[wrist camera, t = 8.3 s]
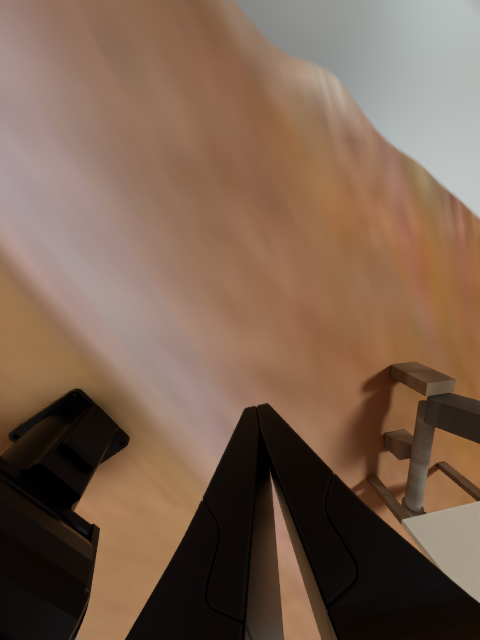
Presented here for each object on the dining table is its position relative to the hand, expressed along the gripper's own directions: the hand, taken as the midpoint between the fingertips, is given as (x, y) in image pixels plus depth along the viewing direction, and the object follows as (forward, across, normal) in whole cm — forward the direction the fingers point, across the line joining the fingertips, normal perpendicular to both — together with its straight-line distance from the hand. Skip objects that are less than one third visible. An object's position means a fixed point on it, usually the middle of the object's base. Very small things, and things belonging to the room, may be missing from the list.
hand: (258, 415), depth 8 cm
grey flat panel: (+8, -15, +23) cm, 28 cm away
